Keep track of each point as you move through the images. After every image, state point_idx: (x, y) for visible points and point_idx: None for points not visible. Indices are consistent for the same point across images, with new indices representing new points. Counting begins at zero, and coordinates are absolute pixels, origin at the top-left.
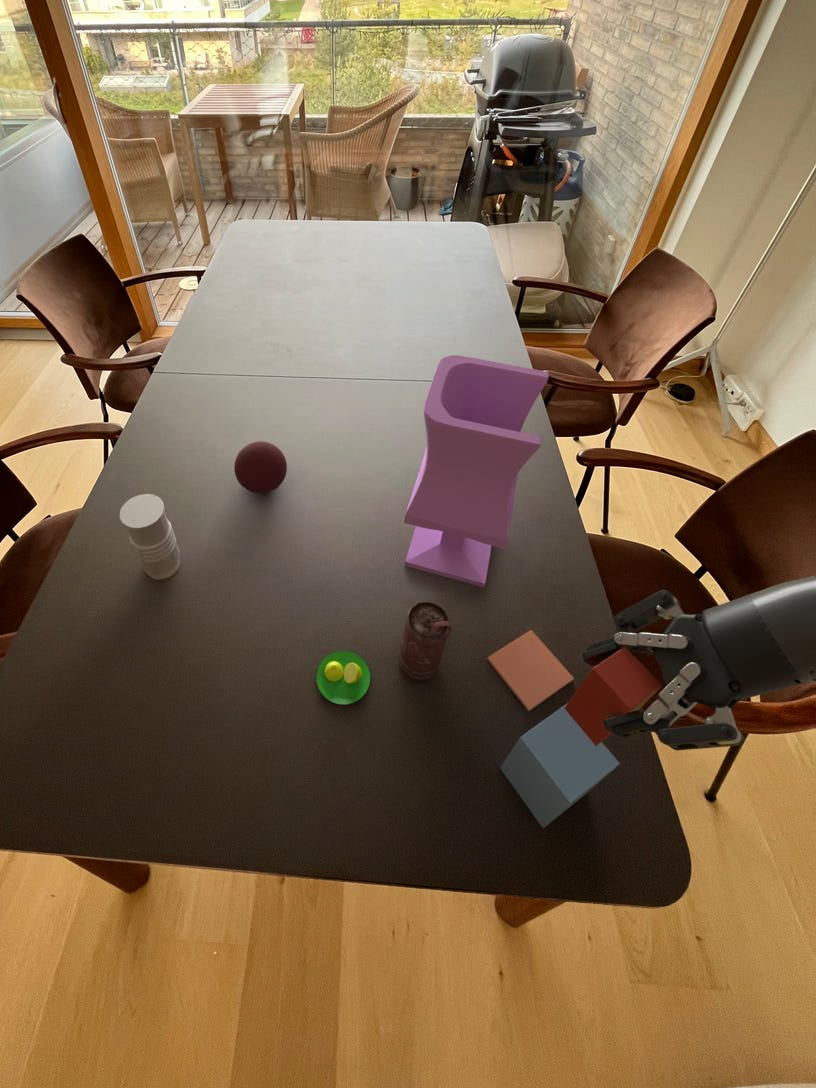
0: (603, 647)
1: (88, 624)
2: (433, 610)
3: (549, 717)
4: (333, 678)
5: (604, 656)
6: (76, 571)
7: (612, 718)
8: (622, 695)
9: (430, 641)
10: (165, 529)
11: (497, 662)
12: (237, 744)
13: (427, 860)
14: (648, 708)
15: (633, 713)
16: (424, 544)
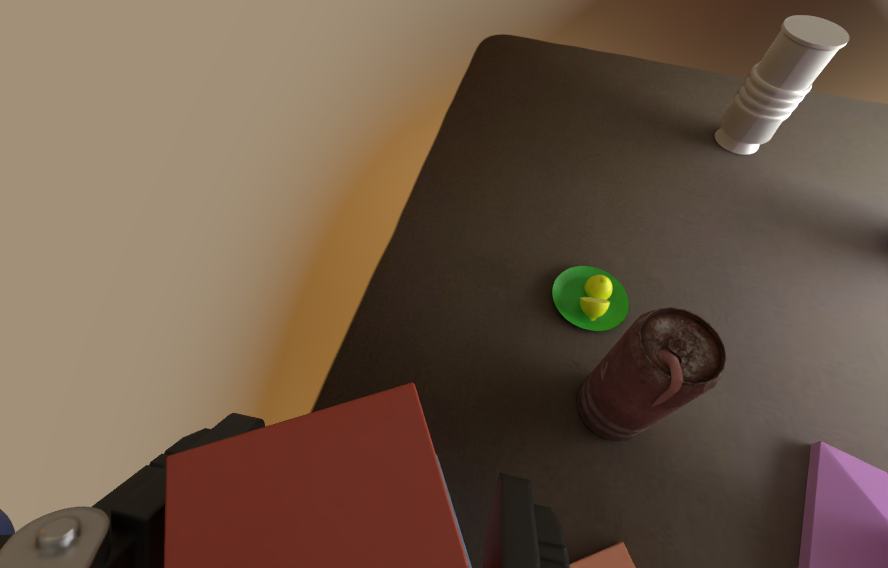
0: (529, 555)
1: (651, 90)
2: (706, 363)
3: (461, 540)
4: (587, 282)
5: (493, 564)
6: (712, 80)
7: (236, 434)
8: (238, 452)
9: (634, 338)
10: (790, 77)
11: (613, 560)
12: (518, 189)
13: (358, 343)
14: (93, 556)
15: (164, 492)
16: (880, 494)
